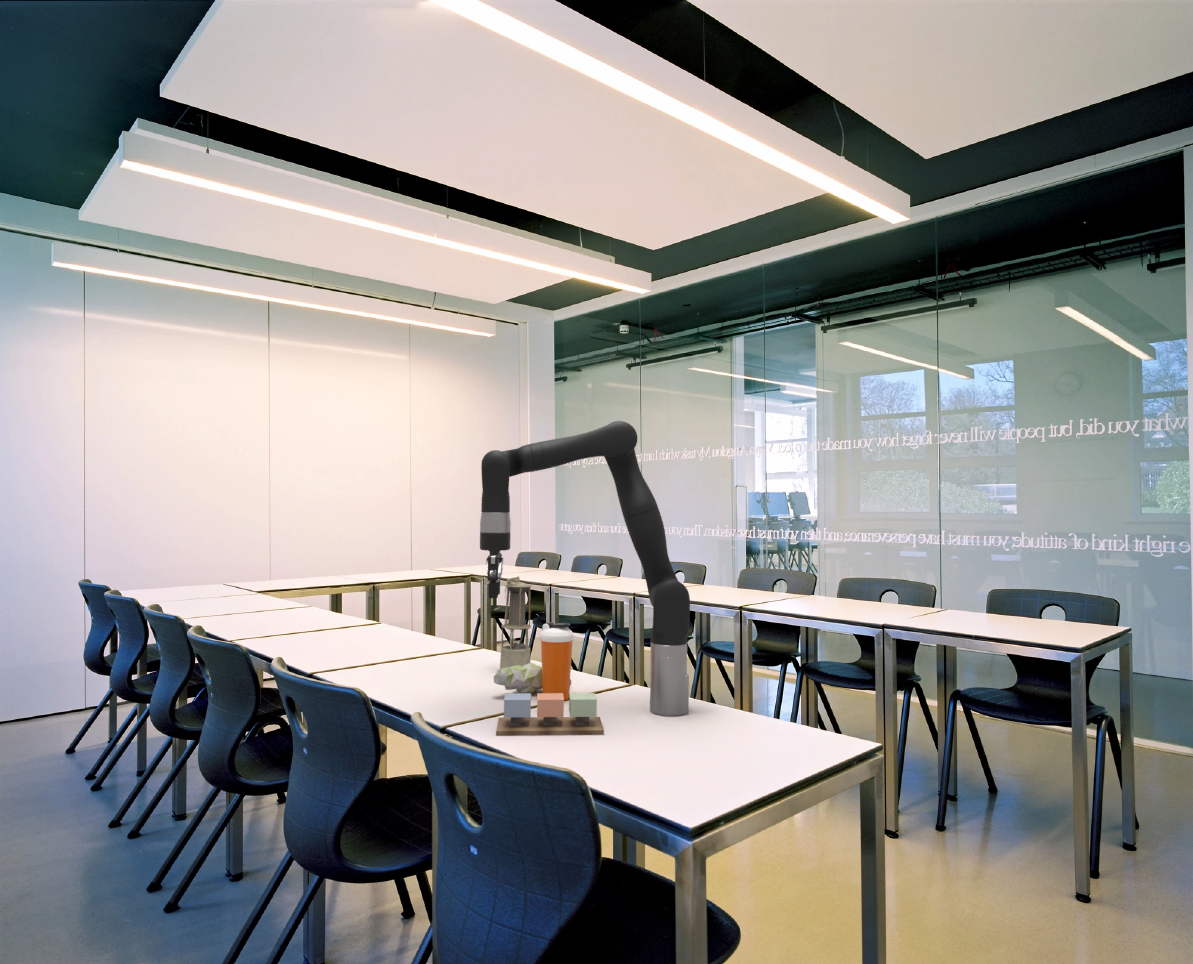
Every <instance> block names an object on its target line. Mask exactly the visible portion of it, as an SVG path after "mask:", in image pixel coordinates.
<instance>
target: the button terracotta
mask: <svg viewBox="0 0 1193 964" xmlns="http://www.w3.org/2000/svg"><path fill="white" fill-rule="evenodd" d="M536 695H537V700H536V701H537V704H536V717H565V716H564V715H565V713H564V712H565V711H564V707H565V705H564V704H565V701H564V697H563V693H541V692H540V693H539V692H537V694H536Z"/></svg>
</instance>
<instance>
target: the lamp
mask: <svg viewBox="0 0 1193 964" xmlns="http://www.w3.org/2000/svg"><path fill="white" fill-rule="evenodd" d="M520 579H521V577H520V576H517V577H511V578H510V577H509V578H508V579H507V580H506V584H504V587H505V588H504V600H505V599H506V601H505V614H504V624H501V629H502V632H501V639H500V640H501V646H500V659H499V670H500V669H502V668H507V667H508V668H509V667H510V666H516V665H520V666H524V665H526V664H528V663H531V647H530V646H529V629H530V628H532V625H531V613H532V611H531V587H532V585H531V584H530V585H529V584H526V583H525V582H523V581H520ZM526 592H527V597H528V598H527V600H528V604H527V605H528V606H527V609H528V624H526ZM501 607H502V605H501V606H499V607H496V608H494V609H493V611H497V610H499V609H500V608H501ZM503 629H506V630H509V645H504V630H503ZM515 630H516V631H517V630H518V631H519V630H520V631H522V630H525V633H524V635H525V643H518V642H514V632H515ZM499 670H498V672H499ZM498 672H497V673H498Z"/></svg>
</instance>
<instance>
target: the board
mask: <svg viewBox="0 0 1193 964" xmlns="http://www.w3.org/2000/svg"><path fill="white" fill-rule="evenodd" d="M592 735H593V736H594V735H595V736H596V735H597V736H598V735H599V736H600V735H601V736H604V735H605V729H604V726H603V723H602V719H601V716H597V717H570V716H564V717H537V716H530V717H504V716H502V717H498V721H497V725H496V729H495V736H497V737H498V736H503V737H504V736H505V737H506V736H510V737H511V736H513V737H514V736H592Z"/></svg>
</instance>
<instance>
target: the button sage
mask: <svg viewBox="0 0 1193 964" xmlns="http://www.w3.org/2000/svg"><path fill="white" fill-rule="evenodd" d="M568 700H569V701H568V703H569V704H568V712H569V717H598V716H597V712H598V711H597V708H598V706H597V704H598V703H597V702H598V701H597V700H598V699H597V696H596V693H594V692H584V693H583V692H579V693H578V692H577V693H576V692H569V699H568Z"/></svg>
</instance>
